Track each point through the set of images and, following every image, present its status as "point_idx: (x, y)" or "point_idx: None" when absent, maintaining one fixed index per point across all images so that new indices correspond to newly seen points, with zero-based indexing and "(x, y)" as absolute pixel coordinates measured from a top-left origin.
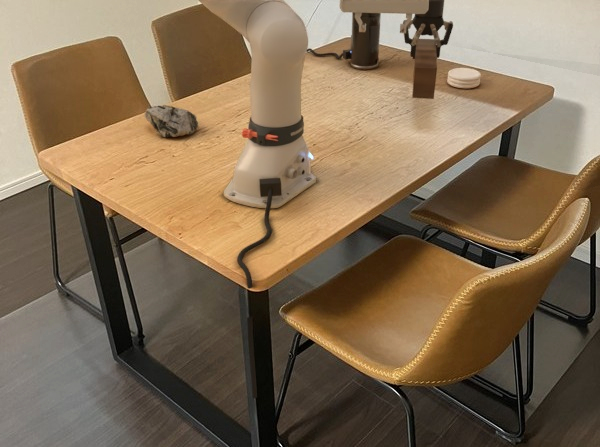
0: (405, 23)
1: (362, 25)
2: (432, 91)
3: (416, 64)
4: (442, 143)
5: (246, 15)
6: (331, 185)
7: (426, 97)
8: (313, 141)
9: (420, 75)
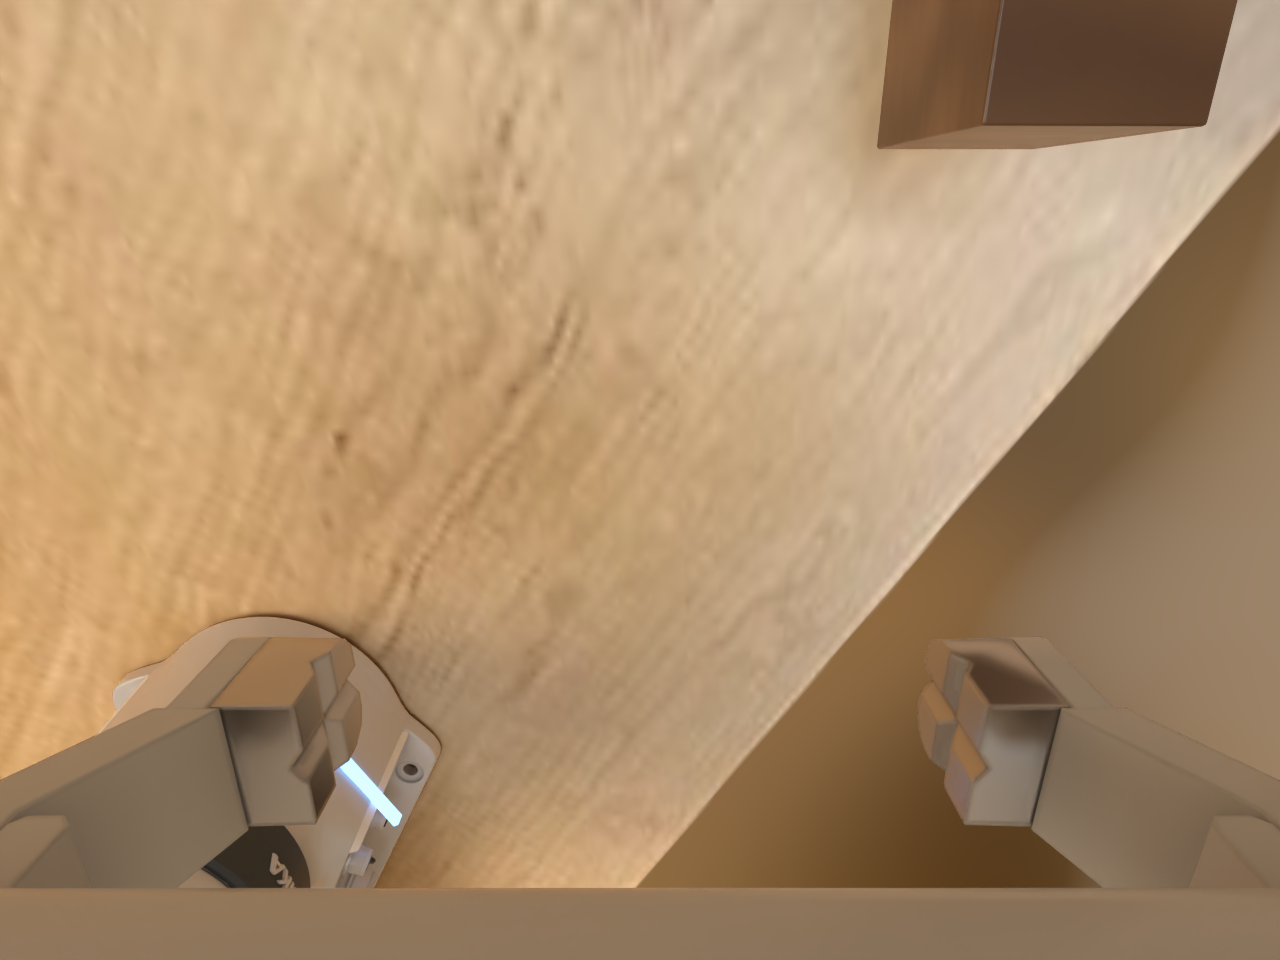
0: (1084, 868)
1: (267, 818)
2: (1050, 144)
3: (1011, 24)
4: (974, 335)
5: None
6: (502, 757)
7: (984, 148)
8: (324, 403)
9: (1004, 133)
